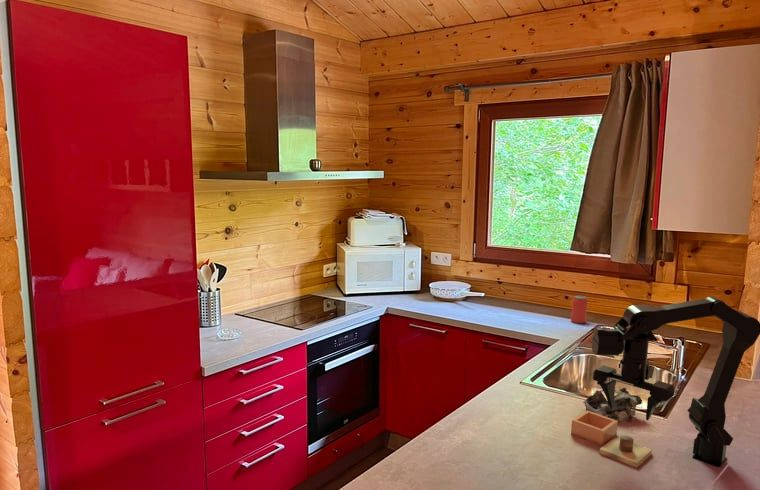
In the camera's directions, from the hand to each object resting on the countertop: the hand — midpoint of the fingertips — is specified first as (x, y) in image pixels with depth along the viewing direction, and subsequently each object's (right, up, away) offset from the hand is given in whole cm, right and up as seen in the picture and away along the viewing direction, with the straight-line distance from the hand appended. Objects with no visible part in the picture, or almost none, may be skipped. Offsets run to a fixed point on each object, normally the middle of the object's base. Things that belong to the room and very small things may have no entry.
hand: (629, 413), depth 151 cm
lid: (0, -11, +2) cm, 11 cm away
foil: (+5, -8, +24) cm, 26 cm away
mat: (0, -11, +2) cm, 11 cm away
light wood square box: (-5, -10, +12) cm, 16 cm away
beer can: (+28, +7, +122) cm, 125 cm away
